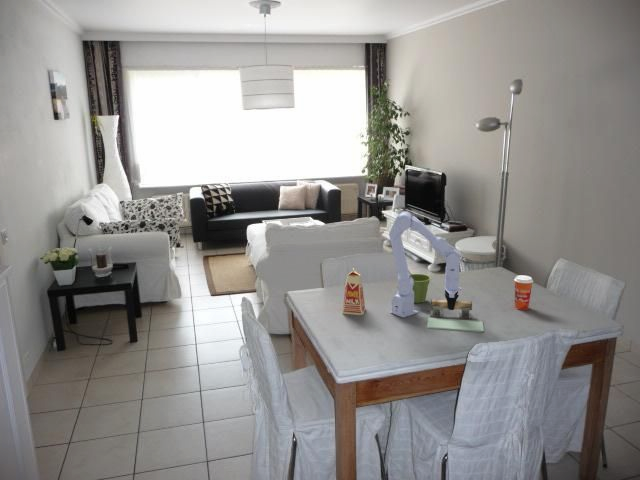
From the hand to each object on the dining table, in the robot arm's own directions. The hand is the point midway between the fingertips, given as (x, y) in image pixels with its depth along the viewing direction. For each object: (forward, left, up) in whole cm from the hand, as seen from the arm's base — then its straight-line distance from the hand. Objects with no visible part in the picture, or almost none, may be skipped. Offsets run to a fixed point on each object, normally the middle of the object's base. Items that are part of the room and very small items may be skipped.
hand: (450, 308), depth 226 cm
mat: (-7, -8, -3) cm, 11 cm away
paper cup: (+31, -14, -4) cm, 34 cm away
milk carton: (-28, +31, -4) cm, 42 cm away
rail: (0, 0, 0) cm, 0 cm away
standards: (0, 0, -3) cm, 3 cm away
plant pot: (+3, +22, -4) cm, 22 cm away
